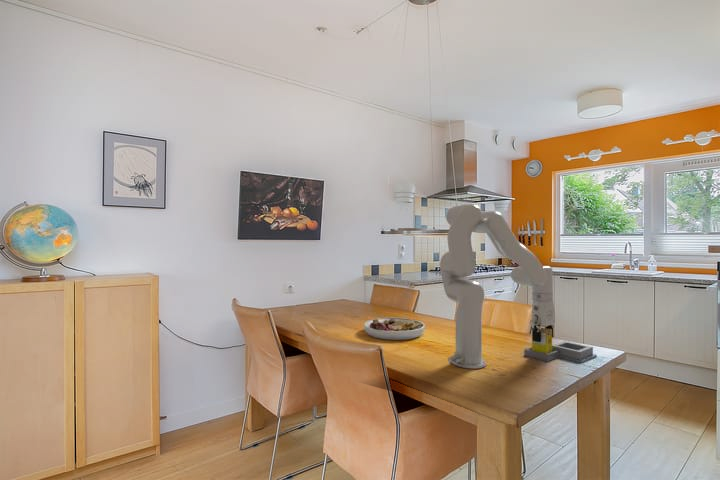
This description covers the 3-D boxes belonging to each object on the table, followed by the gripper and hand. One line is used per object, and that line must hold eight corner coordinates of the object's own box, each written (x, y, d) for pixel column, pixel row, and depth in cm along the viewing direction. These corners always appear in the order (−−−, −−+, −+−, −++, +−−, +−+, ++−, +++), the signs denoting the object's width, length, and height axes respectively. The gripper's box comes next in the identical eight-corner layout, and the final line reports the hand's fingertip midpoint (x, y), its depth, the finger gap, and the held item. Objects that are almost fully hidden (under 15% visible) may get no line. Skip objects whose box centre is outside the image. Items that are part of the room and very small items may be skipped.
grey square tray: (547, 361, 146) (547, 355, 146) (524, 355, 154) (524, 349, 154) (560, 356, 152) (560, 350, 152) (536, 351, 160) (536, 345, 160)
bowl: (384, 324, 211) (384, 310, 211) (434, 332, 193) (434, 316, 193) (352, 335, 187) (351, 319, 187) (406, 346, 169) (406, 328, 169)
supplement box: (552, 356, 153) (552, 328, 153) (547, 359, 149) (547, 331, 149) (536, 353, 157) (536, 326, 157) (531, 356, 153) (531, 329, 153)
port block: (581, 363, 144) (581, 353, 144) (547, 354, 155) (547, 345, 155) (596, 356, 152) (596, 347, 152) (563, 349, 163) (563, 340, 163)
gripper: (540, 300, 145) (541, 345, 145) (562, 295, 155) (563, 337, 155) (521, 298, 151) (522, 341, 151) (544, 293, 161) (545, 333, 161)
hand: (543, 339), depth 153 cm, fingers open, 9 cm apart
